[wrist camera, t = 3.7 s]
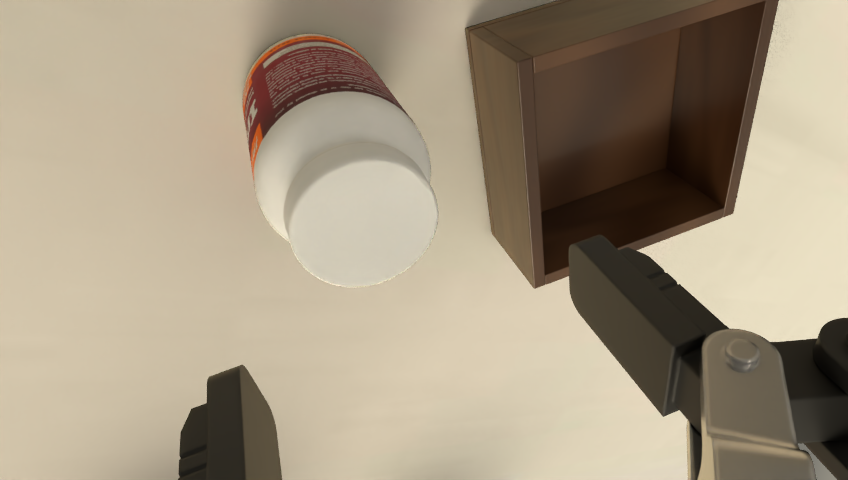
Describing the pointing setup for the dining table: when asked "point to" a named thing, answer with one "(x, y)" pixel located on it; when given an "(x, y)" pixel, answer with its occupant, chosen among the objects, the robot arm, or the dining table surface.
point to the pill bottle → (337, 162)
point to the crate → (614, 120)
